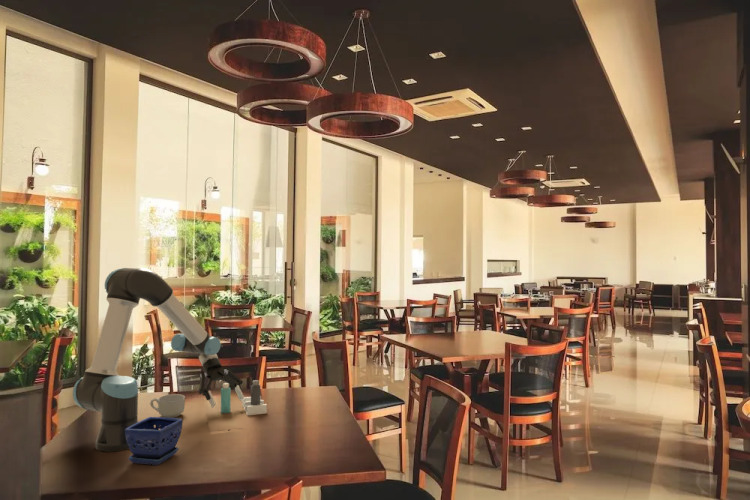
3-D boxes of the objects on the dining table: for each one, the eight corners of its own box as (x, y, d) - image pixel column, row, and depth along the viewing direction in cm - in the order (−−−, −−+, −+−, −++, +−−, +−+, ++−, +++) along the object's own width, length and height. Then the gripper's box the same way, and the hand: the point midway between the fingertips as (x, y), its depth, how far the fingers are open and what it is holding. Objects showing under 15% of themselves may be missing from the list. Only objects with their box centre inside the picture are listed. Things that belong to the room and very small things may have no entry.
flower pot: (160, 468, 164) (160, 430, 164) (123, 465, 166) (123, 427, 167) (183, 453, 177) (184, 418, 177) (149, 450, 179) (149, 416, 180)
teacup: (189, 412, 225) (189, 394, 225) (177, 420, 214) (177, 400, 214) (158, 412, 226) (158, 393, 227) (145, 419, 216) (145, 400, 216)
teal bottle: (231, 415, 221) (231, 384, 221) (221, 416, 220) (221, 385, 220) (229, 412, 225) (230, 382, 225) (220, 413, 223) (220, 383, 224)
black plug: (261, 412, 222) (261, 381, 222) (251, 413, 220) (251, 382, 220) (259, 409, 225) (259, 379, 226) (250, 410, 224) (250, 380, 224)
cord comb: (266, 415, 220) (266, 404, 220) (247, 417, 217) (247, 406, 217) (260, 405, 235) (260, 395, 235) (242, 407, 232) (242, 397, 232)
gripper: (231, 363, 243) (250, 401, 232) (180, 372, 224) (197, 413, 214) (238, 353, 239) (256, 391, 228) (186, 361, 221) (204, 403, 210)
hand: (228, 402), depth 221 cm, fingers open, 13 cm apart
